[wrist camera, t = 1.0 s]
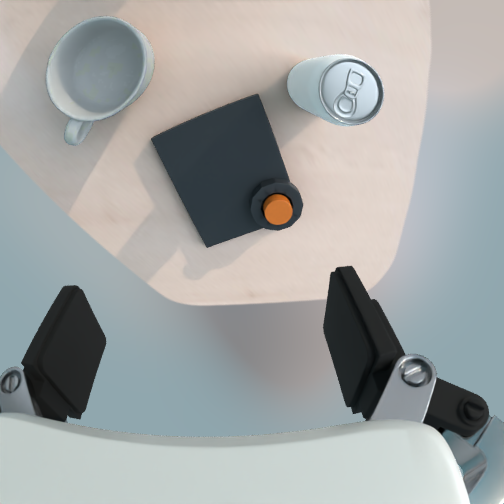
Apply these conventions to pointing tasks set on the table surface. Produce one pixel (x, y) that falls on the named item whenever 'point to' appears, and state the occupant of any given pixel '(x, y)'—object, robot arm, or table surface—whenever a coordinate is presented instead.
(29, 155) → the table surface
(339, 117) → the can
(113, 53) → the teacup
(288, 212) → the button
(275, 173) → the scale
